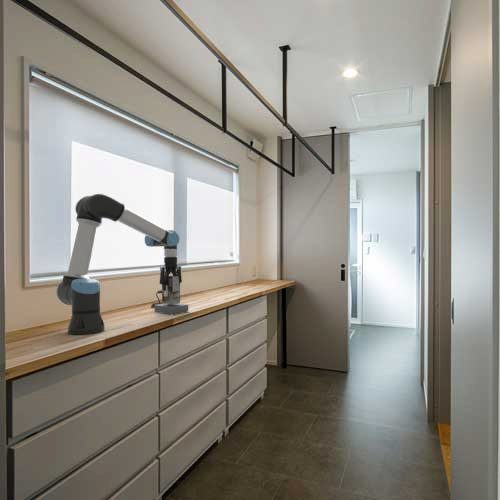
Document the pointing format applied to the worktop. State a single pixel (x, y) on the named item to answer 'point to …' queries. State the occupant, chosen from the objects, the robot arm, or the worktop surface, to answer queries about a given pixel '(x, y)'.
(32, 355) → the worktop surface
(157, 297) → the clothes iron
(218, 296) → the worktop surface
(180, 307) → the plinth
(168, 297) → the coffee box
